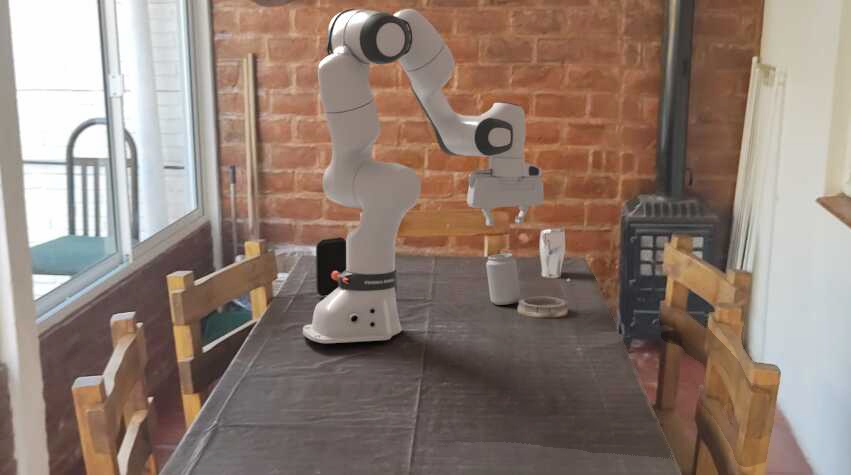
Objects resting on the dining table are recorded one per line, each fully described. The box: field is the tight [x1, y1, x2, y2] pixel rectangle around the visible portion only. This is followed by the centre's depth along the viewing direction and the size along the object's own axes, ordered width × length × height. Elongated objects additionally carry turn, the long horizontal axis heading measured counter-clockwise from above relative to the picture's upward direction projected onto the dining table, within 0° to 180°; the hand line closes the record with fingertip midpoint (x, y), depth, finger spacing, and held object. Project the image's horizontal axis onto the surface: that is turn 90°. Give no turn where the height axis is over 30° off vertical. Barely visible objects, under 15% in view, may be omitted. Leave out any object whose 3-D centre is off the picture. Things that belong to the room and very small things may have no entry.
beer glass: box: [539, 228, 566, 279], centre depth 250 cm, size 7×7×15 cm
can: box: [485, 253, 521, 306], centre depth 226 cm, size 8×8×12 cm
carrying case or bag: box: [315, 237, 346, 297], centre depth 235 cm, size 11×3×15 cm, turn 135°
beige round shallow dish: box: [517, 295, 568, 319], centre depth 219 cm, size 12×12×2 cm
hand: (504, 224), depth 225 cm, fingers open, 7 cm apart
